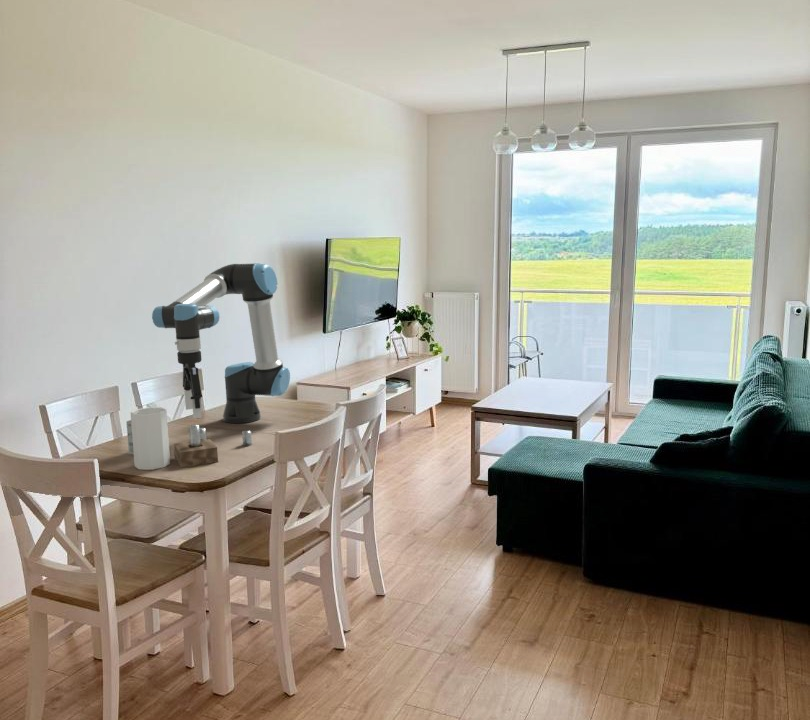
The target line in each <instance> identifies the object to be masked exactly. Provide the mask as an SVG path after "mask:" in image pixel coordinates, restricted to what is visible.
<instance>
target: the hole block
mask: <svg viewBox="0 0 810 720" xmlns="http://www.w3.org/2000/svg"><path fill="white" fill-rule="evenodd" d="M200 446H201V447H194V448H191V444H190V441H184V442H178V443H174V444H173V447H174V449H173V451H174V459H175V460H176V462H177V463H178V465H179V466H180V468H185V467H193V466H198V465H199V466H200V465H204V464H205V465H207V464H212V463H213V462H214V463H219V458H218V457H219V455H218V454H219V453H218V447H217V446H216V445H215V443H214V442H213V441H212V440H211V439H210V438H209V439H207V438H206V440H200ZM214 463H213V464H214Z"/></svg>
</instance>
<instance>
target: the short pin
mask: <svg viewBox="0 0 810 720" xmlns="http://www.w3.org/2000/svg"><path fill="white" fill-rule="evenodd" d="M241 433H242V436H241V437H242V446H243V447H250V446H252V445H253V442H252V441H253V440H252V437H253V436H252V430H250V429H247V430H242V431H241Z"/></svg>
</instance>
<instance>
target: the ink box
mask: <svg viewBox="0 0 810 720" xmlns="http://www.w3.org/2000/svg"><path fill="white" fill-rule="evenodd" d="M126 431H127V433H126V434H127V446H128V454H130V455H134V451H133V438H132V426H131V419H130V420H127V421H126Z"/></svg>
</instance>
